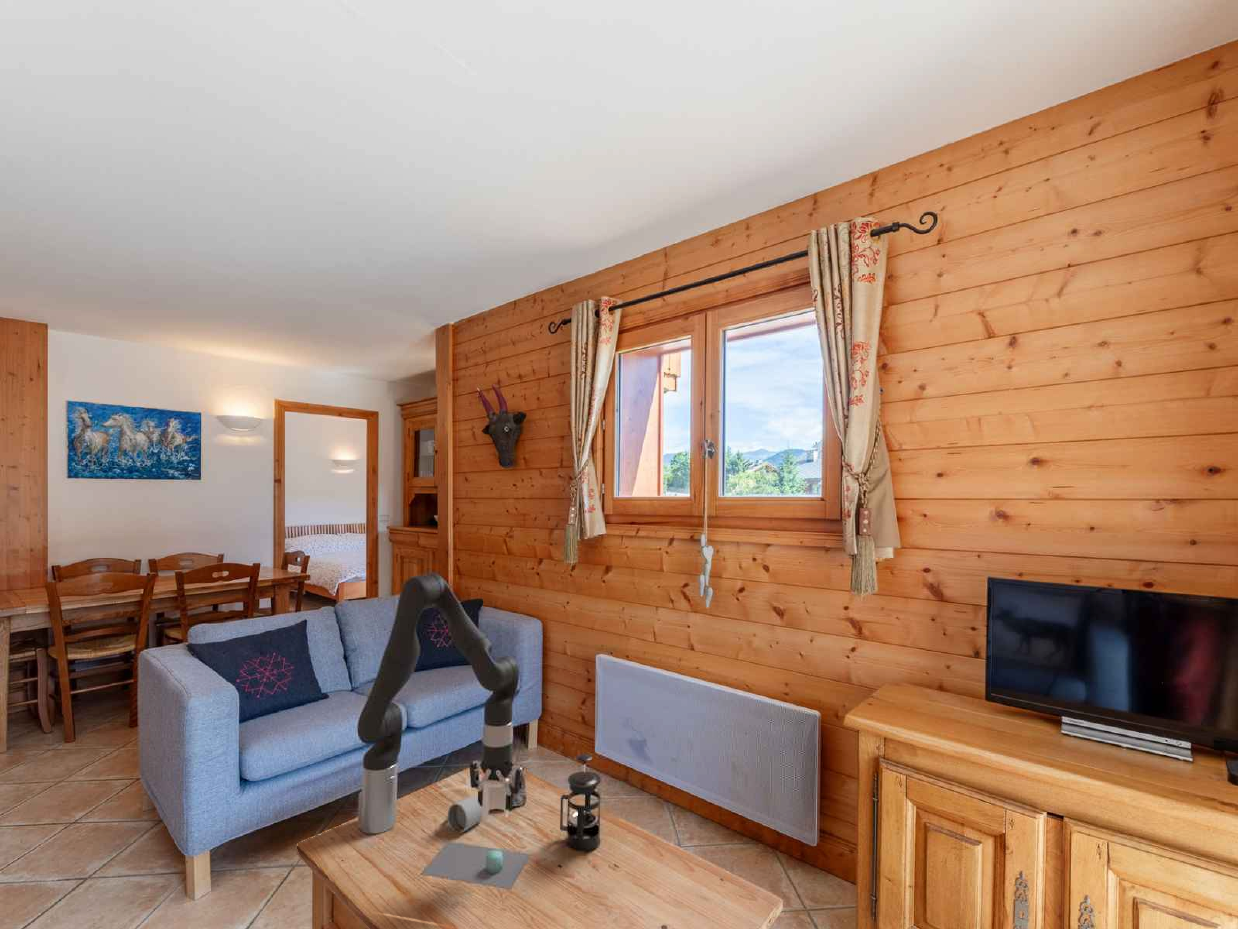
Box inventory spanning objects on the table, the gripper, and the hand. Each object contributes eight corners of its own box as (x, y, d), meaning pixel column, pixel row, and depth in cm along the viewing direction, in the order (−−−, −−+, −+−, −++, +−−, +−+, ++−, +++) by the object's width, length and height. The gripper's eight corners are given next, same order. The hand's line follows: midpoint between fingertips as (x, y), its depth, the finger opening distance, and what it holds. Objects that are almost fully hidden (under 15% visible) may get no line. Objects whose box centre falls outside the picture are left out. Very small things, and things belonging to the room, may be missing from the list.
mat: (419, 875, 147) (419, 873, 147) (447, 842, 161) (447, 841, 161) (511, 891, 142) (511, 889, 142) (531, 855, 156) (531, 854, 156)
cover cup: (477, 819, 148) (479, 782, 148) (488, 806, 154) (489, 771, 154) (501, 823, 146) (503, 786, 147) (512, 809, 153) (513, 774, 153)
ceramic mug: (486, 823, 171) (487, 795, 171) (466, 837, 164) (466, 808, 164) (460, 813, 176) (460, 786, 177) (438, 826, 169) (439, 798, 170)
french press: (605, 834, 166) (607, 750, 167) (599, 855, 157) (600, 766, 158) (564, 830, 168) (566, 747, 169) (556, 850, 159) (557, 762, 160)
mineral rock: (477, 810, 178) (478, 775, 178) (492, 792, 188) (493, 759, 189) (517, 816, 175) (518, 781, 175) (530, 797, 185) (531, 764, 186)
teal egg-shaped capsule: (483, 873, 148) (483, 858, 148) (490, 863, 152) (490, 849, 152) (498, 875, 147) (498, 861, 147) (504, 865, 151) (505, 851, 151)
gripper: (464, 742, 149) (462, 810, 148) (518, 749, 146) (516, 818, 145) (477, 730, 156) (475, 795, 156) (529, 736, 153) (527, 802, 152)
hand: (495, 806), depth 150 cm, fingers closed on cover cup, 6 cm apart
